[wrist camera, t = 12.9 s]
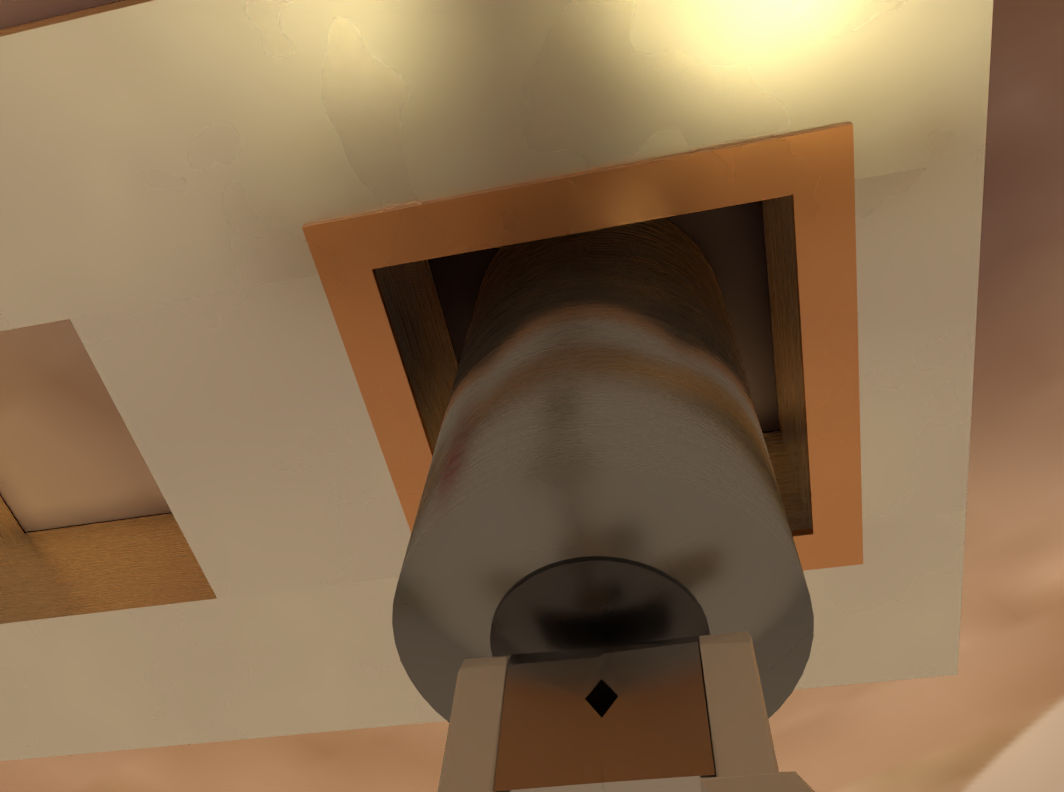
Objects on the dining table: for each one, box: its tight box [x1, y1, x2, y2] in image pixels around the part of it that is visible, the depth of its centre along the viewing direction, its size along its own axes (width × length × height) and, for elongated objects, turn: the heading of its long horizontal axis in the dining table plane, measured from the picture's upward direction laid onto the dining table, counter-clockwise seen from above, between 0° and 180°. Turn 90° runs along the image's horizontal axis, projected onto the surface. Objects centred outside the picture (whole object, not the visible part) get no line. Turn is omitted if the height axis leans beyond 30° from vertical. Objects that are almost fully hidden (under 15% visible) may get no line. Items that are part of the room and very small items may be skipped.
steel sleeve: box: [392, 218, 814, 722], centre depth 13 cm, size 5×5×8 cm
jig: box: [0, 0, 993, 761], centre depth 16 cm, size 14×22×3 cm, turn 102°
